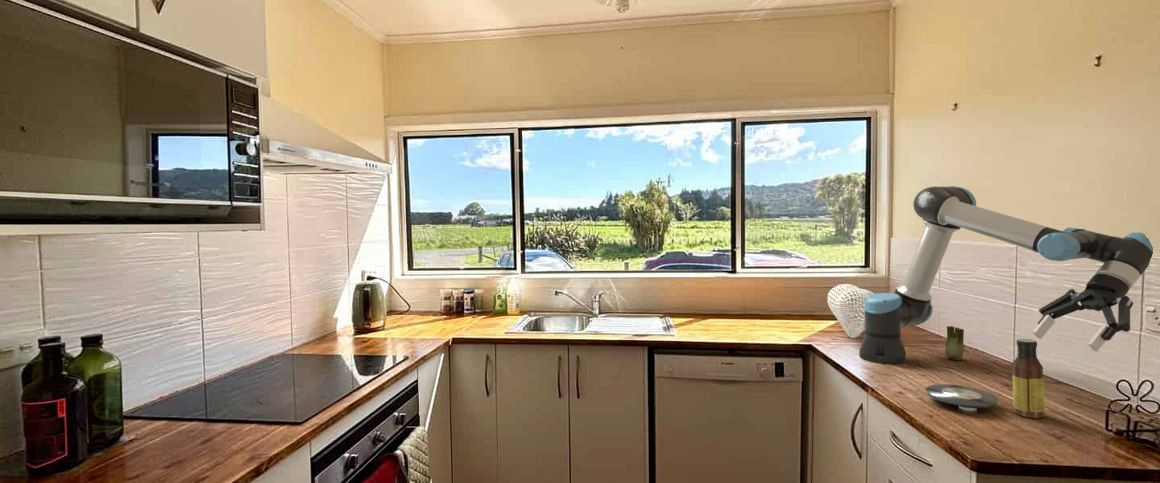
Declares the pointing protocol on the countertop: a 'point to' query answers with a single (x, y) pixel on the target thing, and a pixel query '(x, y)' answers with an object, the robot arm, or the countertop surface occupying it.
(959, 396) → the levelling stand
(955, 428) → the countertop surface
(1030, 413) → the sauce bottle
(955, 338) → the fennel bulb
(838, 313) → the heart
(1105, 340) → the robot arm
